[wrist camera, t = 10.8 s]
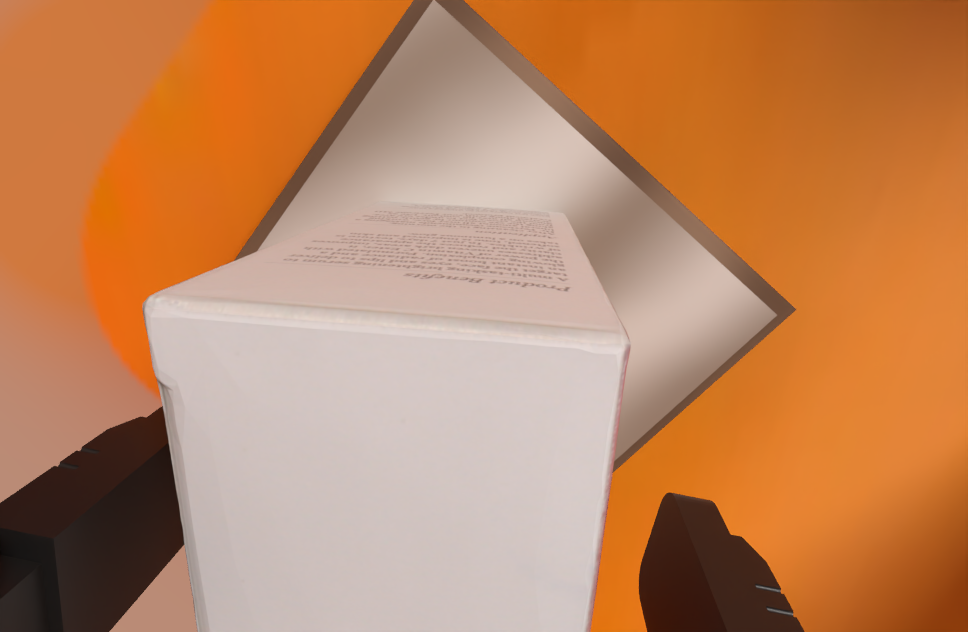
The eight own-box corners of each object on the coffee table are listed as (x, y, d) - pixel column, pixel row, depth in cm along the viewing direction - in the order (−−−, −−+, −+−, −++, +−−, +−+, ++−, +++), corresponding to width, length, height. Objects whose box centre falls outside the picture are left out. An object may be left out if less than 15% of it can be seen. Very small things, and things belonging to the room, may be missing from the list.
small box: (545, 451, 18) (569, 840, 8) (378, 437, 18) (203, 796, 8) (570, 207, 16) (650, 336, 6) (376, 194, 16) (122, 297, 6)
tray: (761, 286, 19) (802, 313, 16) (497, 530, 23) (493, 586, 20) (446, -4, 17) (430, -33, 14) (217, 320, 21) (168, 349, 18)
